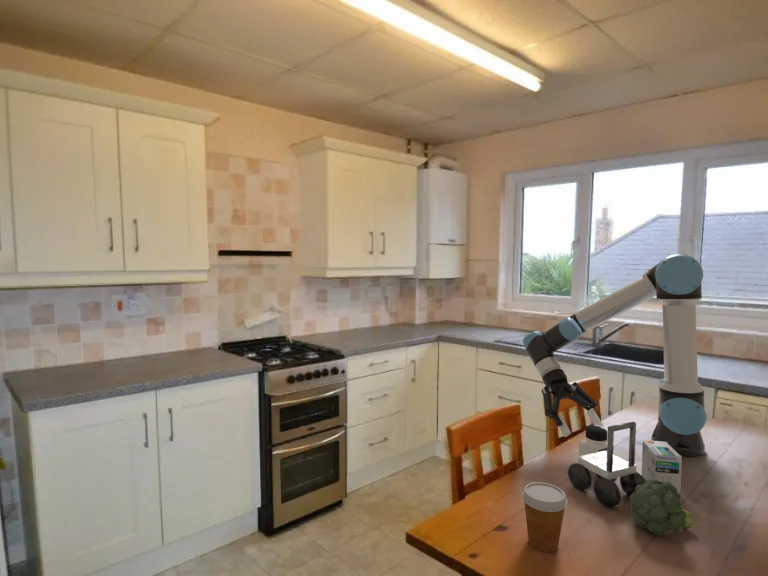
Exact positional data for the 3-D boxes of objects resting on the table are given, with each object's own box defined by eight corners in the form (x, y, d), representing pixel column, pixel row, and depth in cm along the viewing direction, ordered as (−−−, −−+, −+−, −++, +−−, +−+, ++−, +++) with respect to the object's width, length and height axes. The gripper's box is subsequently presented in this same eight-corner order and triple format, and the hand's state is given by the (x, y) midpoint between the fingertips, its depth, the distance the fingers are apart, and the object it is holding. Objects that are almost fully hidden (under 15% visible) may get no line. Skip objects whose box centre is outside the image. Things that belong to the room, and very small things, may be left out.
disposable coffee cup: (514, 531, 107) (515, 482, 106) (554, 529, 108) (555, 480, 107) (531, 558, 97) (532, 504, 97) (574, 556, 98) (575, 502, 97)
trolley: (596, 476, 134) (599, 406, 132) (647, 503, 119) (650, 425, 118) (567, 483, 129) (569, 412, 128) (615, 512, 115) (618, 432, 113)
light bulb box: (681, 495, 123) (683, 456, 122) (653, 493, 124) (655, 454, 124) (665, 476, 133) (667, 440, 133) (640, 474, 135) (641, 439, 134)
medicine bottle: (597, 472, 136) (599, 433, 135) (577, 462, 142) (578, 425, 142) (613, 467, 139) (614, 428, 138) (593, 458, 146) (594, 421, 145)
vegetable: (720, 540, 100) (667, 516, 98) (672, 555, 108) (621, 534, 106) (700, 486, 109) (651, 463, 107) (657, 504, 118) (610, 484, 115)
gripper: (573, 375, 164) (606, 431, 151) (516, 382, 154) (547, 443, 141) (585, 364, 158) (621, 421, 146) (527, 371, 149) (560, 432, 136)
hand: (584, 432), depth 143 cm, fingers open, 13 cm apart
